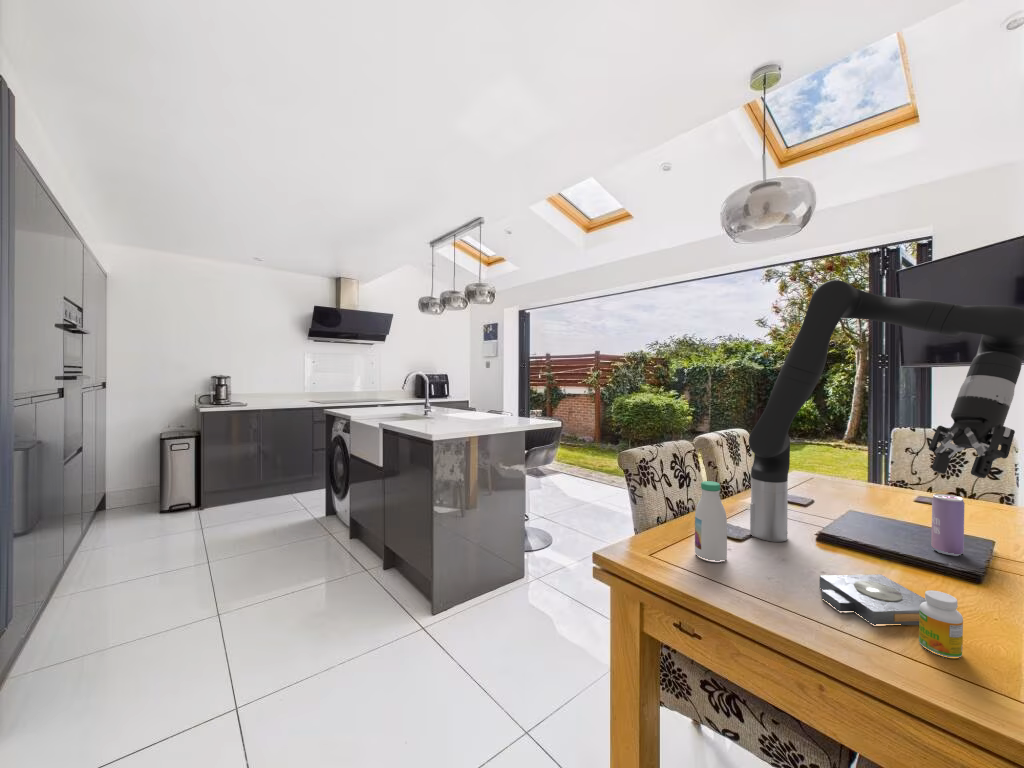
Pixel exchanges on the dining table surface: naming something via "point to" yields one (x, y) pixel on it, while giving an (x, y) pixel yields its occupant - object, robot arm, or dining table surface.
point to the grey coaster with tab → (872, 598)
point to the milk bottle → (710, 524)
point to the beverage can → (948, 523)
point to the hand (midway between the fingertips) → (957, 474)
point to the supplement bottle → (941, 624)
